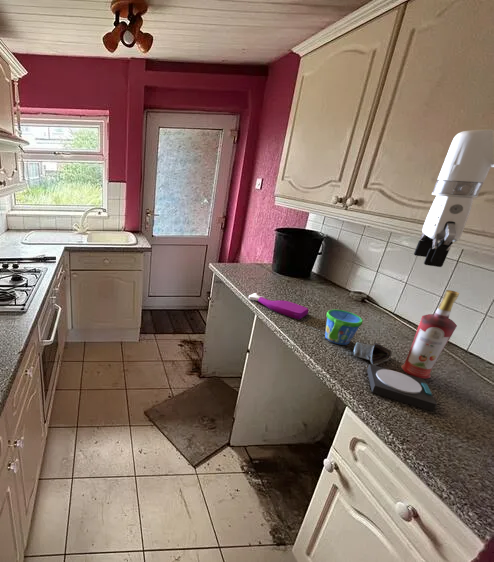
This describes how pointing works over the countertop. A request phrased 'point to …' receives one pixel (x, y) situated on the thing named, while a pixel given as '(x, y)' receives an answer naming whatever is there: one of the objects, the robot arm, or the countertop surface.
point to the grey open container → (372, 352)
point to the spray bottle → (282, 306)
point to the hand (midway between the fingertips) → (426, 260)
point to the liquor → (431, 338)
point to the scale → (401, 387)
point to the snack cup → (341, 326)
